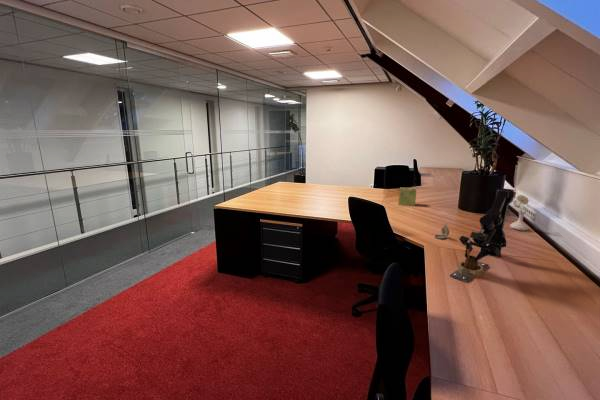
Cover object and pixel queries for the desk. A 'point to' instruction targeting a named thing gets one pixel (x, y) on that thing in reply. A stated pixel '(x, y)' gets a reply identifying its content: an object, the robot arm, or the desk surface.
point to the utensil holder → (470, 262)
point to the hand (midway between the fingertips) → (470, 258)
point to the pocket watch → (443, 230)
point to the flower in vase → (520, 214)
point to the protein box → (407, 196)
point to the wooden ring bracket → (468, 271)
